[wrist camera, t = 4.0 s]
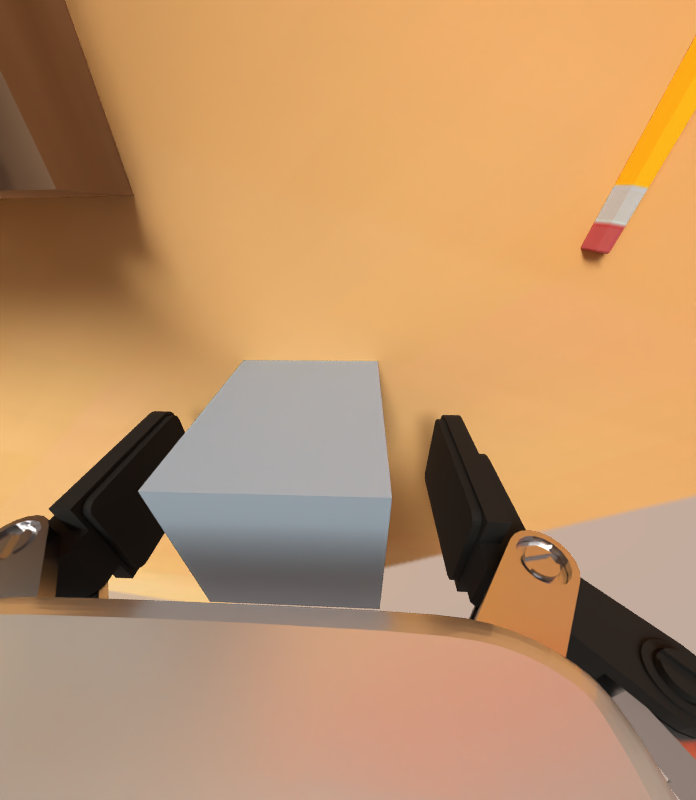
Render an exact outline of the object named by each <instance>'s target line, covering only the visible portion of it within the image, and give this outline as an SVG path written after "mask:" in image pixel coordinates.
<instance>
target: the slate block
mask: <svg viewBox="0 0 696 800" xmlns="http://www.w3.org/2000/svg"><path fill="white" fill-rule="evenodd" d="M138 492H139V494H140V495H141V497H142V498H143V500H144V501H145V503H146V504H147V506H148V507H149V509H150V511H151V512H152V514H153V515H154V517H155V518H156V520H157V521H158V523H159V524H160V526H161V527H162V529H163V530H164V532H165V533H166V535H167V537H168V538H169V540H170V541H171V543H172V544H173V546H174V547H175V549H176V550H177V552H178V553H179V555H180V556H181V558H182V559H183V561H184V562H185V564H186V566H187V567H188V569H189V570H190V572H191V573H192V575H193V576H194V578H195V579H196V581H197V582H198V584H199V585H200V587H201V588H202V590H203V591H204V593H205V595H206V596H207V598H208V599H209V601H210V602H232V603H255V604H257V603H258V604H279V605H302V606H303V605H305V606H326V607H328V606H329V607H349V608H373V609H379V608H380V600H381V591H382V582H383V573H384V565H385V556H386V547H387V538H388V530H389V521H390V512H391V503H392V492H391V483H390V473H389V464H388V454H387V445H386V435H385V426H384V417H383V407H382V398H381V388H380V379H379V370H378V361H267V360H244V361H243V362H242V363H241V364H240V365H239V367H238V368H237V369H236V370H235V372H234V373H233V374H232V375H231V377H230V378H229V379H228V380H227V382H226V383H225V384H224V385H223V387H222V388H221V389H220V390H219V391H218V393H217V394H216V395H215V396H214V398H213V399H212V400H211V401H210V403H209V404H208V405H207V406H206V408H205V409H204V410H203V411H202V412H201V414H200V415H199V416H198V417H197V419H196V420H195V421H194V422H193V424H192V425H191V426H190V427H189V429H188V430H187V431H186V432H185V434H184V435H183V436H182V437H181V438H180V440H179V441H178V442H177V443H176V445H175V446H174V447H173V448H172V450H171V451H170V452H169V453H168V455H167V456H166V457H165V458H164V460H163V461H162V462H161V463H160V464H159V466H158V467H157V468H156V469H155V471H154V472H153V473H152V474H151V476H150V477H149V478H148V479H147V481H146V482H145V483H144V484H143V486H142V487H141V488H140V489H139V490H138Z"/></svg>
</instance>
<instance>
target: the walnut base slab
mask: <svg viewBox="0 0 696 800" xmlns="http://www.w3.org/2000/svg"><path fill="white" fill-rule="evenodd" d="M87 196H133V192H132V189H131V186H130V183H129V181H128V178H127V175H126V172H125V169H124V166H123V164H122V161H121V158H120V155H119V152H118V149H117V147H116V144H115V141H114V138H113V135H112V133H111V130H110V127H109V124H108V121H107V118H106V116H105V113H104V110H103V107H102V104H101V101H100V99H99V96H98V93H97V90H96V87H95V85H94V82H93V79H92V76H91V73H90V70H89V68H88V65H87V62H86V59H85V56H84V54H83V51H82V48H81V45H80V42H79V39H78V37H77V34H76V31H75V28H74V25H73V22H72V20H71V17H70V14H69V11H68V8H67V6H66V3H65V0H0V198H42V197H87Z"/></svg>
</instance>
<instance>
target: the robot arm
mask: <svg viewBox="0 0 696 800" xmlns="http://www.w3.org/2000/svg"><path fill="white" fill-rule="evenodd" d="M184 434H185V431H184V429H183V427H182V425H181V422H180V420H179V418H178V417H177V416H175V415H174V414H173V413H172V412H162V411H154V412H151V413H150V414H149V415H148V416H147V417H146V418H145V419H143V420H142V421H141V422H140V423H139V424H138V425H137V426H136V427H135V428H134V429H133V430H132V431H131V432H130V433H129V434H128V435H126V436H125V437H124V438H123V439H122V440H121V441H120V442H119V443H118V444H117V445H116V446H115V447H114V448H113V449H112V450H111V451H109V452H108V453H107V454H106V455H105V456H104V457H103V458H102V459H101V460H100V461H99V462H98V463H97V464H96V465H95V466H94V467H92V468H91V469H90V470H89V471H88V472H87V473H86V474H85V475H84V476H83V477H82V478H81V479H80V480H79V481H78V482H77V483H75V484H74V485H73V486H72V487H71V488H70V489H69V490H68V491H67V492H66V493H65V494H64V495H63V496H62V497H61V498H60V499H58V500H57V501H56V502H55V503H54V504H53V505H52V506H51V507H50V508H49V510H50V511H51V512H52V513H53V514H54V516H53V517H52V518H51V519H50V520H48V519H47V518H46V517H44V516H39V515H35V516H28V517H25V518H22V519H18V520H16V521H14V522H12V523H9V524H7V525H5V526H4V527H2V528H0V800H677V799H676V797H675V795H674V793H675V794H676V795H677V796H678V797H679V799H680V800H696V656H695V655H694V654H693V653H691V652H690V651H689V650H688V649H686V648H685V647H684V646H682V645H681V644H680V643H678V642H677V641H675V640H674V639H672V638H671V637H669V636H667V635H666V634H665V633H663V632H662V631H660V630H659V629H657V628H655V627H654V626H652V625H651V624H650V623H648V622H647V621H645V620H644V619H642V618H640V617H639V616H638V615H636V614H634V613H633V612H632V611H630V610H629V609H627V608H625V607H624V606H622V605H621V604H619V603H618V602H616V601H615V600H613V599H612V598H610V597H609V596H607V595H606V594H604V593H603V592H601V591H600V590H598V589H597V588H595V587H594V586H592V585H591V584H589V583H588V582H586V581H585V580H583V579H582V578H580V571H579V568H578V566H577V563H576V561H575V560H574V559H573V557H572V556H571V554H570V553H569V552H568V551H567V550H566V549H565V548H564V547H563V546H562V545H561V544H560V543H558V542H557V541H555V540H554V539H552V538H551V537H549V536H547V535H545V534H542V533H540V532H536V531H531V530H526V529H525V528H524V526H523V524H522V522H521V520H520V518H519V516H518V514H517V512H516V510H515V508H514V506H513V504H512V502H511V500H510V498H509V497H508V495H507V493H506V491H505V489H504V487H503V485H502V483H501V481H500V479H499V477H498V475H497V473H496V471H495V469H494V467H493V466H492V464H491V462H490V460H489V458H488V457H487V456H486V455H485V454H479V453H478V451H477V449H476V447H475V445H474V443H473V441H472V438H471V436H470V434H469V432H468V430H467V428H466V426H465V424H464V422H463V420H462V418H461V416H459V415H443V416H442V417H441V419H437V420H436V421H435V426H434V431H433V436H432V441H431V446H430V451H429V456H428V461H427V466H426V471H425V482H426V486H427V490H428V495H429V499H430V503H431V508H432V512H433V516H434V520H435V525H436V529H437V533H438V537H439V542H440V546H441V550H442V554H443V558H444V563H445V567H446V571H447V575H448V577H449V579H450V580H455V584H456V588H457V591H460V592H468V595H469V599H470V602H471V603H472V604H473V605H474V606H475V607H474V609H473V611H472V613H471V616H470V618H469V619H466V618H458V617H450V616H441V615H432V614H431V615H430V614H416V613H402V612H387V611H372V610H352V609H332V608H311V607H290V606H269V605H245V604H224V603H201V602H178V601H153V600H152V601H151V600H126V599H125V600H124V599H108V580H109V579H110V577H111V576H112V575H114V576H115V577H116V578H133V577H134V575H135V574H136V572H137V571H138V569H139V568H140V567H142V566H143V565H144V564H145V563H146V562H147V560H148V559H149V557H150V556H151V554H152V552H153V551H154V549H155V547H156V546H157V544H158V543H159V541H160V539H161V538H162V536H163V535H164V533H165V532H164V530H163V529H162V527H161V526H160V524H159V523H158V521H157V520H156V518H155V517H154V515H153V514H152V512H151V511H150V509H149V507H148V506H147V504H146V503H145V501H144V500H143V498H142V497H141V495H140V494H139V492H138V490H139V489H140V488H141V487H142V486H143V484H144V483H145V482H146V481H147V479H148V478H149V477H150V476H151V474H152V473H153V472H154V471H155V469H156V468H157V467H158V466H159V464H160V463H161V462H162V461H163V460H164V458H165V457H166V456H167V455H168V453H169V452H170V451H171V450H172V448H173V447H174V446H175V445H176V443H177V442H178V441H179V440H180V438H181V437H182V436H183V435H184ZM658 767H659V768H660V769H661V770H662V772H663V773H664V774H665V775H666V776H667V777H668V779H669V780H668V781H666V780H665V778H664V776H663V775H662V773H661V771H660V770H659V768H658ZM671 789H672V790H671ZM673 792H674V793H673Z"/></svg>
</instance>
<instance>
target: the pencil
mask: <svg viewBox="0 0 696 800" xmlns="http://www.w3.org/2000/svg"><path fill="white" fill-rule="evenodd" d="M695 109H696V36H695V38H694V40H693V42H692V44H691V46H690V47H689V49H688V51H687V53H686V55H685V57H684V59H683V60H682V62H681V64H680V66H679V68H678V70H677V71H676V73H675V75H674V77H673V79H672V81H671V82H670V84H669V86H668V88H667V90H666V92H665V94H664V95H663V97H662V99H661V101H660V103H659V105H658V106H657V108H656V110H655V112H654V114H653V116H652V117H651V119H650V121H649V123H648V125H647V127H646V128H645V130H644V132H643V134H642V136H641V138H640V140H639V141H638V143H637V145H636V147H635V149H634V151H633V152H632V154H631V156H630V158H629V160H628V162H627V163H626V165H625V167H624V169H623V171H622V173H621V175H620V176H619V178H618V180H617V182H616V184H615V186H614V187H613V189H612V191H611V193H610V195H609V197H608V198H607V200H606V202H605V204H604V206H603V208H602V210H601V211H600V213H599V215H598V217H597V219H596V221H595V222H594V224H593V226H592V228H591V230H590V232H589V233H588V235H587V237H586V239H585V241H584V243H583V245H582V246H581V249H584V250H589V251H595V252H600V253H606V254H607V253H609V252H610V251H611V249H612V248H613V246H614V244H615V243H616V241H617V239H618V238H619V236H620V234H621V233H622V231H623V229H624V228H625V226H626V224H627V223H628V221H629V219H630V218H631V216H632V214H633V213H634V211H635V209H636V208H637V206H638V204H639V203H640V201H641V199H642V198H643V196H644V194H645V193H646V191H647V189H648V188H649V186H650V184H651V183H652V181H653V179H654V178H655V176H656V174H657V173H658V171H659V169H660V168H661V166H662V164H663V163H664V161H665V159H666V158H667V156H668V154H669V153H670V151H671V149H672V148H673V146H674V144H675V143H676V141H677V139H678V138H679V136H680V134H681V133H682V131H683V129H684V128H685V126H686V124H687V123H688V121H689V119H690V118H691V116H692V114H693V113H694V111H695Z"/></svg>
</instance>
